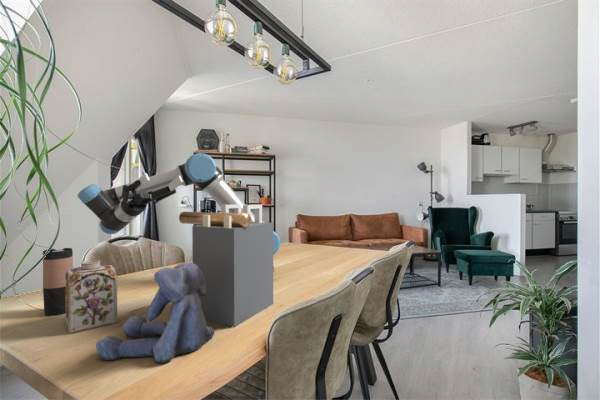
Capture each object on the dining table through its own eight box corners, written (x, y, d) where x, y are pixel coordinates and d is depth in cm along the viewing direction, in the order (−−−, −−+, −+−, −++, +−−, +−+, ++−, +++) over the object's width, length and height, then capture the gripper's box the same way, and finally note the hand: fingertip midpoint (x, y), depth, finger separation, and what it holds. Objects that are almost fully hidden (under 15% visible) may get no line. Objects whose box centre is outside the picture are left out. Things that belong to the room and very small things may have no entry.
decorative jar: (68, 335, 82) (67, 268, 82) (64, 321, 91) (64, 261, 91) (119, 322, 90) (118, 261, 90) (111, 311, 99) (110, 256, 99)
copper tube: (178, 222, 101) (180, 210, 101) (187, 224, 104) (189, 212, 105) (242, 226, 89) (243, 212, 90) (250, 227, 93) (251, 214, 93)
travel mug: (56, 317, 94) (56, 252, 94) (36, 315, 96) (35, 251, 95) (79, 308, 102) (78, 248, 101) (60, 306, 103) (59, 247, 103)
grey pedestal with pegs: (236, 297, 113) (235, 204, 112) (273, 303, 106) (273, 204, 105) (192, 317, 94) (192, 205, 94) (234, 327, 87) (234, 206, 87)
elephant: (141, 324, 90) (141, 253, 89) (224, 328, 87) (223, 255, 86) (84, 362, 69) (83, 270, 69) (190, 369, 66) (189, 273, 66)
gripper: (162, 214, 124) (196, 187, 116) (99, 219, 102) (135, 186, 93) (156, 198, 126) (188, 171, 117) (92, 199, 103) (126, 165, 95)
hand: (165, 177), depth 105 cm, fingers open, 13 cm apart
